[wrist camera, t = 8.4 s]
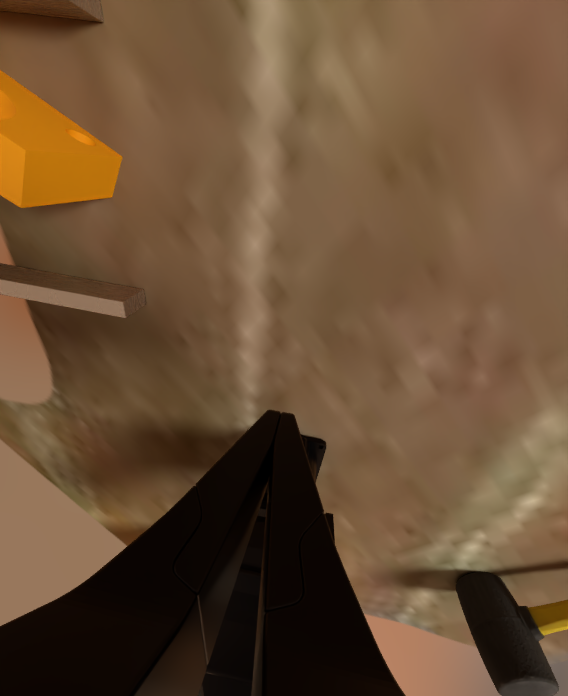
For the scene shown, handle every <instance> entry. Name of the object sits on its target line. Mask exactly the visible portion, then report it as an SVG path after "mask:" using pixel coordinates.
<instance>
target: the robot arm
mask: <svg viewBox="0 0 568 696" xmlns="http://www.w3.org/2000/svg"><path fill="white" fill-rule="evenodd" d="M325 450H326V442H325V441H323V440H319V439H314V438H310V437H305V436H301V435H300V431H299V428H298V425H297V422H296V418H295V416H294V414H290V413H285V412H282V413H280V412H279V411H274V410H267V411H266V412H265V413H264V414H263V415H262V416H261V417H260V418H259V420H258V421H257V422H256V423H255V424H254V425H253V426H252V427H251V428H250V429H249V430H248V431H247V432H246V433H245V434H244V435H243V436H242V437H241V438H240V439H239V440H238V441H237V442H236V443H235V444H234V445H233V446H232V447H231V448H230V449H229V450H228V451H227V452H226V453H225V454H224V455H223V457H222V458H221V459H220V460H219V461H218V462H217V463H216V464H215V465H214V466H213V467H212V468H211V469H210V470H209V471H208V472H207V473H206V474H205V475H204V476H203V477H202V478H201V479H200V480H199V481H198V482H197V483H196V486H193V487H192V488H191V489H190V490H189V491H188V492H187V493H186V494H185V495H184V496H183V497H182V498H181V499H180V500H179V501H178V502H177V503H176V504H175V505H174V506H173V507H172V508H171V509H170V510H169V511H168V512H167V513H166V514H165V515H164V516H162V517H161V518H160V519H159V520H158V521H157V522H156V523H154V524H153V525H152V526H151V527H150V528H149V529H148V530H146V531H145V532H144V533H143V534H142V535H140V536H139V537H138V538H137V539H136V540H134V541H133V542H132V543H131V544H130V545H128V546H127V547H126V548H125V549H124V550H123V551H122V552H120V553H119V554H118V555H117V556H115V557H114V558H113V559H112V560H111V561H109V562H108V563H107V564H106V565H105V566H104V567H102V568H101V569H100V570H99V571H97V572H96V573H95V574H94V575H93V576H91V577H90V578H89V579H87V580H86V581H85V582H83V583H82V584H81V585H79V586H78V587H76V588H75V589H73V590H71V591H70V592H68V593H66V594H65V595H63V596H61V597H60V598H58V599H56V600H54V601H52V602H50V603H48V604H46V605H43V606H41V607H39V608H37V609H36V610H33V611H31V612H29V613H27V614H25V615H23V616H21V617H18V618H16V619H14V620H12V621H10V622H8V623H6V624H4V625H2V626H0V696H198V694H199V691H200V692H201V696H405V694H404V693H403V691H402V690H401V688H400V687H399V685H398V684H397V682H396V680H395V679H394V677H393V675H392V673H391V672H390V670H389V668H388V666H387V664H386V662H385V660H384V658H383V656H382V654H381V652H380V650H379V648H378V646H377V644H376V641H375V639H374V637H373V634H372V632H371V630H370V627H369V625H368V623H367V621H366V618H365V616H364V613H363V611H362V609H361V607H360V604H359V602H358V600H357V597H356V595H355V593H354V590H353V588H352V586H351V583H350V581H349V579H348V576H347V574H346V572H345V569H344V567H343V564H342V562H341V559H340V557H339V554H338V552H337V549H336V546H335V539H334V523H333V514H331V513H326V514H324V510H323V506H322V503H321V500H320V497H319V493H318V490H317V487H316V484H315V483H316V479H317V476H318V473H319V470H320V466H321V463H322V460H323V457H324V453H325Z"/></svg>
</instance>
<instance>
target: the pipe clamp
mask: <svg viewBox="0 0 568 696" xmlns="http://www.w3.org/2000/svg"><path fill="white" fill-rule="evenodd" d="M121 160H122V156H121V155H119V154H118V153H116V152H115V151H114V150H112V149H111V148H109V147H108V146H106V145H105V144H104V143H102V142H101V141H99V140H98V139H97V138H95V137H94V136H92V135H91V134H90V133H88V132H87V131H85V130H84V129H83V128H81V127H80V126H78V125H77V124H76V123H74V122H73V121H71V120H70V119H68V118H67V117H66V116H64V115H63V114H61V113H60V112H59V111H57V110H56V109H54V108H53V107H52V106H50V105H49V104H47V103H46V102H45V101H43V100H42V99H40V98H39V97H37V96H36V95H35V94H33V93H32V92H30V91H29V90H28V89H26V88H25V87H23V86H22V85H21V84H19V83H18V82H16V81H15V80H14V79H12V78H11V77H9V76H8V75H7V74H5V73H4V72H2V71H1V70H0V195H1V196H3V197H4V198H6V199H7V200H9V201H11V202H12V203H14V204H15V205H17V206H18V207H20V208H26V207H34V206H43V205H51V204H60V203H69V202H77V201H86V200H94V199H103V198H111V197H112V196H113V192H114V188H115V184H116V180H117V176H118V172H119V168H120V164H121Z"/></svg>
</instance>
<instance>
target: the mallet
mask: <svg viewBox="0 0 568 696" xmlns="http://www.w3.org/2000/svg"><path fill="white" fill-rule="evenodd" d="M456 591H457V594H458V598H459V600H460V604H461V607H462V610H463V612H464V615H465V618H466V621H467V623H468V626H469V628H470V631H471V634H472V636H473V639H474V641H475V643H476V646H477V648H478V651H479V653H480V655H481V658H482V660H483V662H484V664H485V666H486V669H487V671H488V673H489V675H490V677H491V679H492V681H493V683H494V685H495V687H496V689H497V691H498V693H499V694H500V695H502V696H553V695H555V694H556V693H557V692H558V690H559V686H558V683H557V681H556V679H555V677H554V674H553V672H552V670H551V667H550V666H549V663H548V661H547V659H546V656H545V655H544V653H543V650H542V648H541V646H540V644H539V640H541V639H543V638H544V635H546V634H550V633H553V632H557V631H562V630H566V629H568V600H565V601H560V602H556V603H551V604H546V605H541V606H536V607H530V608H528V607H527V606H518V604H517V602H516V601H515V599H514V598H513V596H512V595H511V593H510V592H509V590H508V589H507V587H506V586H505V584H504V583H503V581H502V580H501V578H499V577H498V576H496V575H494V574H491V573H487V572H475V573H470V574H467V575H465V576H463V577H461V578H460V579H459V580H458V581H457V583H456Z"/></svg>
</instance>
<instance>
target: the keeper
mask: <svg viewBox="0 0 568 696" xmlns="http://www.w3.org/2000/svg"><path fill="white" fill-rule="evenodd" d="M0 11H9V12H18V13H27V14H35V15H44V16H53V17H62V18H70V19H79V20H88V21H96V22H103V16H102V10H101V3H100V0H0ZM0 294H2V295H7V296H13V297H17V298H23V299H28V300H33V301H39V302H44V303H49V304H54V305H60V306H65V307H70V308H76V309H81V310H86V311H91V312H97V313H102V314H107V315H113V316H118V317H123V318H127V317H128V316H130V315H131V314H132V313H134V312H135V311H137V310H138V309H140V308H141V307H142V306H144V305H145V304H146V300H145V294H144V289H139V288H134V287H128V286H123V285H117V284H112V283H106V282H101V281H95V280H90V279H84V278H79V277H73V276H68V275H62V274H57V273H51V272H46V271H40V270H35V269H29V268H23V267H18V266H12V265H7V264H1V263H0Z"/></svg>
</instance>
